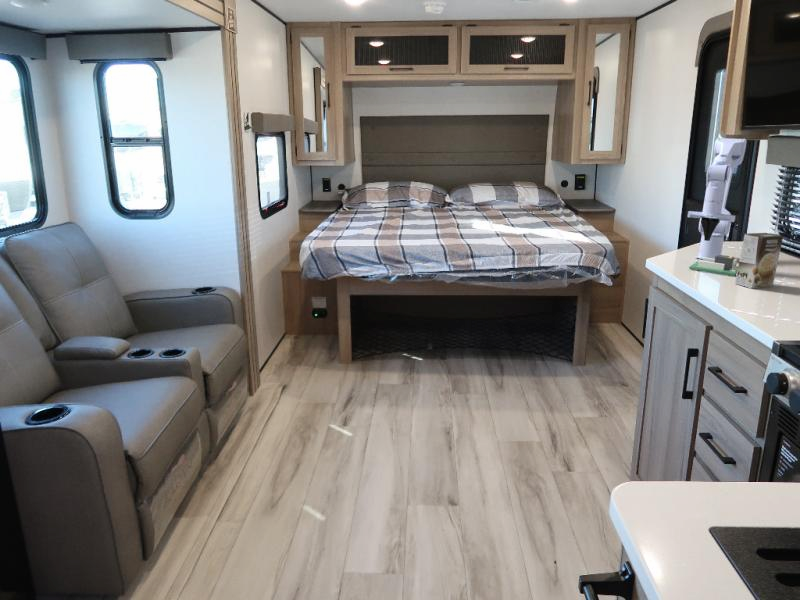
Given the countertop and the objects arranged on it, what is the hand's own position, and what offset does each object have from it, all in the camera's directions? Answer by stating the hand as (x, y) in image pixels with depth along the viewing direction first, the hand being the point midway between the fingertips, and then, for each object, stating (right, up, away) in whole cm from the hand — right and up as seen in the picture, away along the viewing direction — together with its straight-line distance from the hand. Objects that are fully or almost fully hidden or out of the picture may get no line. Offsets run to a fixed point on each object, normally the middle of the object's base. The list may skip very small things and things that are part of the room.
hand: (707, 240), depth 211 cm
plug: (+4, -10, -3) cm, 11 cm away
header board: (+2, -10, -1) cm, 11 cm away
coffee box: (+4, -16, -20) cm, 26 cm away
